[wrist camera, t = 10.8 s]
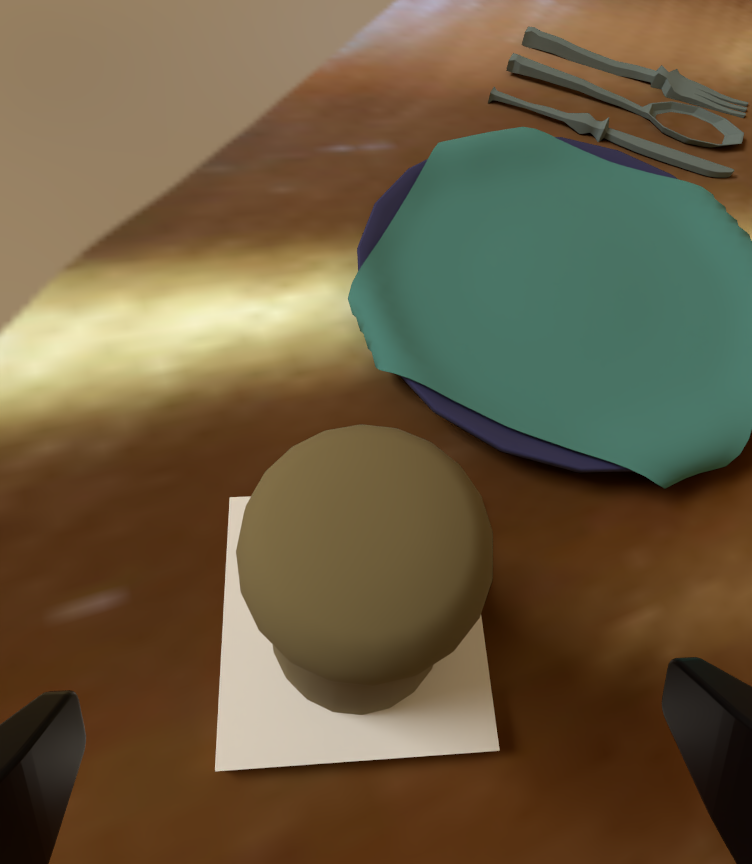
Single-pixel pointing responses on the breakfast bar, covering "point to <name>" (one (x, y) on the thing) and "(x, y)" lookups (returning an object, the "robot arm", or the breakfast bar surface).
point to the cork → (364, 564)
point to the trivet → (330, 731)
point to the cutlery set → (569, 286)
